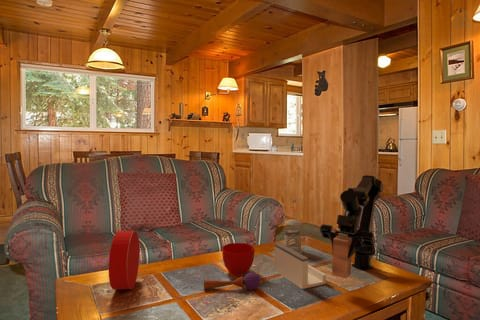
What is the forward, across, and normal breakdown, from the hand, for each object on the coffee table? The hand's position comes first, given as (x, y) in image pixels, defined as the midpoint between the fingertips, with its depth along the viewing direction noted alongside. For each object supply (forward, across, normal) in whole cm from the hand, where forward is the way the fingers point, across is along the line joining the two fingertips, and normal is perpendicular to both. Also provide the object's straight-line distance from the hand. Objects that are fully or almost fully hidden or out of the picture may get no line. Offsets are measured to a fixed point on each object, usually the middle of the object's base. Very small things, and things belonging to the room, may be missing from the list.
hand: (340, 255), depth 118 cm
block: (+4, 0, +6) cm, 7 cm away
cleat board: (+6, -18, +13) cm, 23 cm away
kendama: (+24, -32, -4) cm, 40 cm away
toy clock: (+38, -64, -19) cm, 77 cm away
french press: (-12, -32, +32) cm, 47 cm away
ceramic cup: (+13, -40, +7) cm, 43 cm away
